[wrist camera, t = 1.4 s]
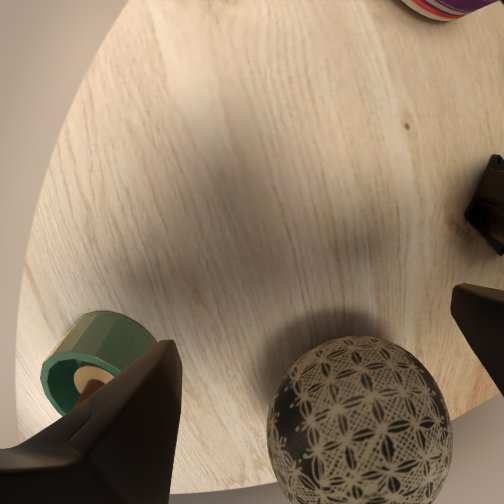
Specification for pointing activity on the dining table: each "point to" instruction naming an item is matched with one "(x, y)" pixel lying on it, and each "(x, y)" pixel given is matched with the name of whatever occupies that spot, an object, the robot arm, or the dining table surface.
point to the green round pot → (91, 353)
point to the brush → (90, 379)
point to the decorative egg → (359, 426)
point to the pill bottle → (446, 7)
